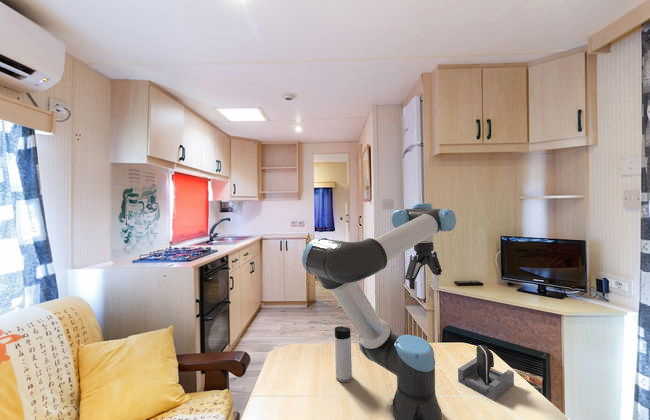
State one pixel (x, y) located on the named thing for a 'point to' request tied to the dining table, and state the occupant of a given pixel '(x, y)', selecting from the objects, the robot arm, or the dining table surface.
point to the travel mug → (343, 354)
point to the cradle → (490, 390)
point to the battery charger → (484, 363)
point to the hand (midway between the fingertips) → (424, 293)
